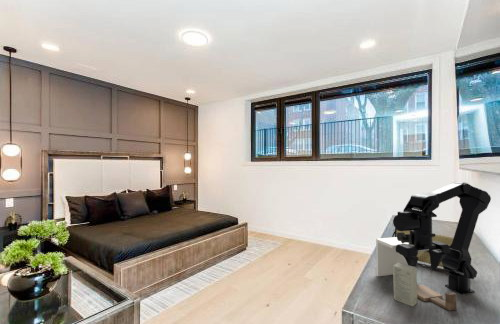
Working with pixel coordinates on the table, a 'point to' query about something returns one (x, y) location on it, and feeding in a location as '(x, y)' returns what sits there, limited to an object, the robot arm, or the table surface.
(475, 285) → the table surface
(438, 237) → the clutch purse
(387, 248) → the white upright block
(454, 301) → the tan wooden paddle
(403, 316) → the table surface
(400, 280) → the skincare box
